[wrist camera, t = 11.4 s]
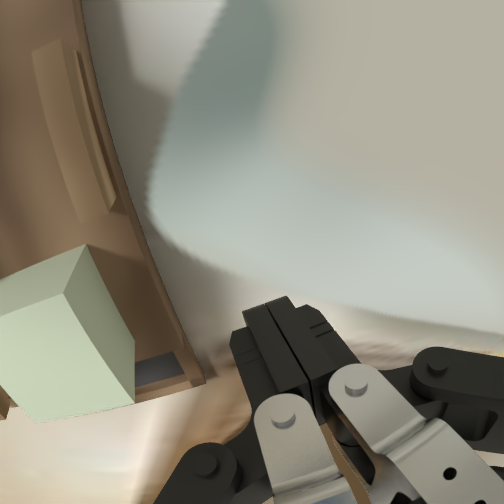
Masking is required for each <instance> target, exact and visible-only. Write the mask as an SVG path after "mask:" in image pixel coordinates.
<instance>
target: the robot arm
mask: <svg viewBox="0 0 504 504" xmlns="http://www.w3.org/2000/svg"><path fill="white" fill-rule="evenodd" d="M242 313H243V317H244V320H245V323H246V326H247V327H244V328H241V329H238V330H236V331H233V332H232V335H231V339H230V344H229V345H230V348H231V350H232V353H233V356H234V359H235V362H236V365H237V368H238V371H239V373H240V376H241V379H242V382H243V385H244V387H245V390H246V393H247V396H248V398H249V401H250V404H251V407H252V415H251V419H250V422H249V424H248V425H247V427H246V428H245V429H244V431H242V433H240V434H239V435H238V436H237V437H235V438H233V439H232V440H230V441H229V442H227V443H226V444H224V445H222V444H219V443H212V442H209V443H202V444H199V445H196V446H194V447H192V448H191V449H189V450H188V451H187V452H186V453H185V454H184V455H183V457H182V458H181V460H180V461H179V463H178V465H177V466H176V468H175V470H174V471H173V473H172V474H171V476H170V478H169V479H168V481H167V482H166V484H165V486H164V487H163V489H162V490H161V492H160V494H159V495H158V497H157V498H156V500H155V502H154V503H153V504H262V503H263V502H265V501H266V500H268V499H269V498H270V497H272V496H273V501H274V504H357V502H356V500H355V498H354V495H353V493H352V491H351V488H350V486H349V484H348V482H347V481H346V479H345V477H344V476H343V474H341V473H340V472H339V470H338V468H337V466H336V464H335V462H334V459H333V457H332V455H331V452H330V450H329V448H328V446H327V443H326V441H325V439H324V436H323V434H322V432H321V429H320V427H319V426H320V425H322V424H325V423H327V425H328V427H329V428H330V430H331V432H332V437H333V442H334V444H335V445H336V447H337V449H338V450H339V452H340V453H341V454H342V456H343V457H344V459H345V460H346V461H347V463H348V464H349V466H350V467H351V469H352V470H353V472H354V473H355V474H356V476H357V477H358V479H359V480H360V481H361V483H362V484H363V485H364V487H365V489H366V491H367V493H368V496H369V499H370V501H371V503H372V504H504V467H498V466H489V465H487V464H486V462H485V461H484V460H483V459H482V458H481V457H480V456H479V455H478V454H477V453H476V452H475V451H474V450H478V451H486V452H492V453H499V454H504V357H497V356H491V355H485V354H479V353H473V352H467V351H461V350H456V349H450V348H444V347H430V348H426V349H424V350H422V351H421V352H419V353H418V354H417V356H416V357H415V359H414V361H413V365H410V366H406V367H401V368H397V369H393V370H382V371H381V370H377V369H375V368H374V367H372V366H369V365H366V364H362V363H361V362H360V361H359V360H358V359H357V358H356V356H355V355H354V354H353V353H352V351H351V350H350V349H349V348H348V346H347V345H346V344H345V342H344V341H343V340H342V339H341V337H340V336H339V335H338V334H337V332H336V331H334V329H333V327H332V326H331V325H330V324H329V323H328V322H327V320H326V319H325V317H324V316H323V315H322V314H321V312H320V311H319V310H317V309H315V308H313V307H311V306H309V305H307V304H306V305H304V306H301V307H298V308H295V307H294V305H293V304H292V302H291V301H290V300H289V298H288V297H287V296H284V297H281V298H278V299H275V300H273V301H270V302H267V303H265V305H264V304H262V305H259V306H256V307H253V308H250V309H248V310H245V311H242Z"/></svg>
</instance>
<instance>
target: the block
mask: <svg viewBox="0 0 504 504" xmlns="http://www.w3.org/2000/svg"><path fill="white" fill-rule="evenodd" d="M0 385H1V387H2V388H3V389H4V390H5V391H6V392H7V394H8V395H9V396H10V397H11V398H12V399H13V400H14V401H15V403H16V404H17V405H18V406H19V407H20V408H21V409H22V410H23V411H24V412H25V413H26V414H27V415H28V416H29V417H30V418H31V419H32V420H33V421H34V422H35V423H41V422H47V421H53V420H59V419H65V418H70V417H76V416H81V415H86V414H91V413H95V412H100V411H104V410H109V409H113V408H118V407H122V406H126V405H130V404H134V403H135V340H134V339H133V337H132V335H131V333H130V331H129V330H128V328H127V326H126V324H125V322H124V321H123V319H122V317H121V315H120V313H119V311H118V309H117V307H116V306H115V304H114V302H113V300H112V298H111V296H110V294H109V292H108V290H107V288H106V286H105V284H104V282H103V280H102V278H101V276H100V273H99V271H98V269H97V267H96V265H95V263H94V261H93V258H92V256H91V254H90V252H89V249H88V247H87V245H86V244H84V245H82V246H79V247H77V248H74V249H72V250H69V251H66V252H64V253H61V254H59V255H57V256H54V257H52V258H49V259H47V260H44V261H42V262H40V263H37V264H35V265H32V266H30V267H28V268H25V269H23V270H21V271H18V272H16V273H14V274H12V275H9V276H7V277H5V278H2V279H0Z"/></svg>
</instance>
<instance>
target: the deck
mask: <svg viewBox="0 0 504 504" xmlns="http://www.w3.org/2000/svg"><path fill="white" fill-rule="evenodd" d="M84 244H86V245H87V247H88V249H89V252H90V254H91V256H92V258H93V261H94V263H95V265H96V267H97V269H98V271H99V273H100V276H101V278H102V280H103V282H104V284H105V286H106V288H107V290H108V292H109V294H110V296H111V298H112V300H113V302H114V304H115V306H116V307H117V309H118V311H119V313H120V315H121V317H122V319H123V321H124V322H125V324H126V326H127V328H128V330H129V331H130V333H131V335H132V337H133V339H134V340H135V403H139V402H143V401H147V400H151V399H155V398H159V397H162V396H166V395H169V394H173V393H176V392H180V391H183V390H187V389H190V388H193V387H197V386H200V385H203V384H206V381H205V377H204V373H203V371H202V369H201V367H200V365H199V363H198V361H197V359H196V357H195V355H194V353H193V350H192V348H191V346H190V344H189V342H188V340H187V338H186V335H185V333H184V331H183V329H182V327H181V324H180V322H179V320H178V318H177V315H176V313H175V311H174V308H173V306H172V304H171V302H170V299H169V297H168V294H167V292H166V290H165V287H164V285H163V283H162V280H161V278H160V275H159V273H158V270H157V268H156V265H155V263H154V260H153V258H152V255H151V252H150V250H149V247H148V245H147V242H146V239H145V237H144V234H143V231H142V229H141V226H140V223H139V220H138V218H137V215H136V212H135V209H134V206H133V203H132V200H131V198H130V195H129V192H128V189H127V186H126V183H125V180H124V176H123V173H122V170H121V167H120V164H119V161H118V157H117V154H116V151H115V148H114V144H113V141H112V137H111V134H110V130H109V127H108V123H107V120H106V116H105V112H104V108H103V105H102V101H101V97H100V93H99V89H98V85H97V81H96V76H95V72H94V68H93V63H92V59H91V54H90V49H89V44H88V39H87V34H86V29H85V23H84V18H83V12H82V6H81V0H0V279H2V278H5V277H7V276H9V275H12V274H14V273H16V272H18V271H21V270H23V269H25V268H28V267H30V266H32V265H35V264H37V263H40V262H42V261H44V260H47V259H49V258H52V257H54V256H57V255H59V254H61V253H64V252H66V251H69V250H72V249H74V248H77V247H79V246H82V245H84ZM135 403H134V404H135ZM130 405H131V404H130ZM126 406H127V405H126ZM13 407H19V406H18V405H17V404H16V403H15V401H14V400H13V399H12V398H11V397H10V396H9V395H8V394H7V392H6V391H5V390H4V389H3V388H2V387H1V385H0V420H6V418H7V414H8V411H9V408H13ZM122 407H123V406H122ZM118 408H119V407H118ZM113 409H114V408H113ZM109 410H110V409H109ZM104 411H106V410H104ZM100 412H101V411H100ZM95 413H96V412H95ZM70 418H71V417H70Z"/></svg>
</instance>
